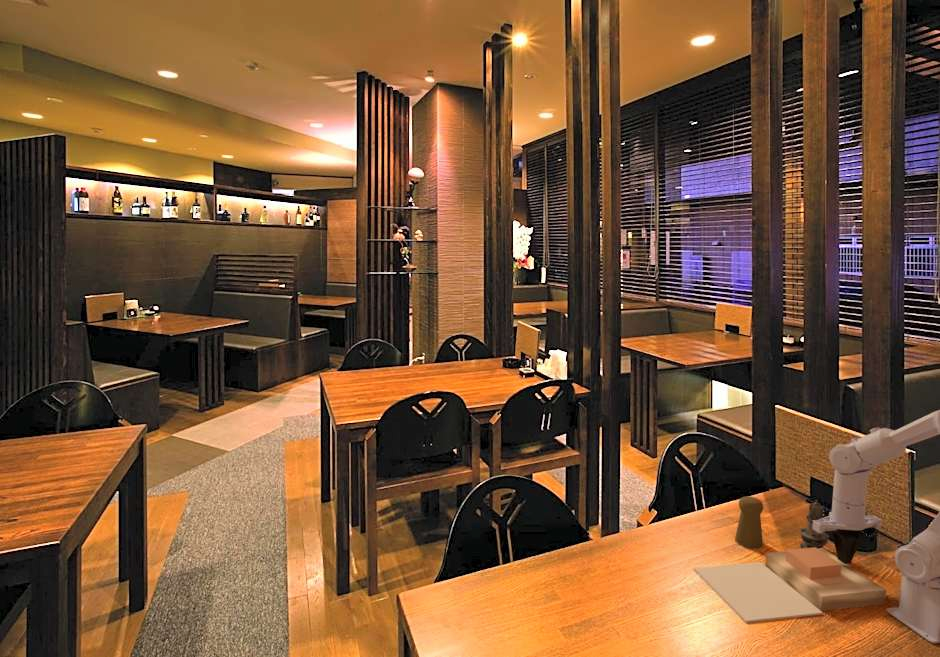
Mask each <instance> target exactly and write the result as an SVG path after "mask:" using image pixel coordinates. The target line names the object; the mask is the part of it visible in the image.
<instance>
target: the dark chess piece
mask: <svg viewBox="0 0 940 657" xmlns="http://www.w3.org/2000/svg"><path fill="white" fill-rule="evenodd" d="M822 518H824V507H823V505H822V504H820V503H819V500H817V499H816V500H815V501H814V502H812V503H809V505H808V515H806V519H807V524H806V527H805V528H801V529H800V530H799V534H800V536H801V539H802V541H803V542H801V543H800V544H799V545H800V546H799V547H800V549H802V548H813V547H816V548H817V549H818V548H824V549H825V550H827V549H826V548H825V547H824V546H826V544H827V542H828V540H829V539H830V536H829V534H827V533H826V532H825V531H824V532H823V533H818V532H816V531H815V530H813V529H812V526H813V520H819V519H822Z"/></svg>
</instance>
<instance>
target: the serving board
mask: <svg viewBox="0 0 940 657" xmlns="http://www.w3.org/2000/svg"><path fill="white" fill-rule="evenodd" d="M824 548H825V547H824ZM824 548H818V549H819V550H820V551H822V552H823V553H825V554H826V555H828V556H829V557H831V558H832V559H834V560H835V561H837V562H838V563H840V564H841V565H842V566H841V576H838V577H828V578H818V579H809V578H807V577H806V576H805V575H804V574H802V573H801V572H800V571H798V570H797V569H796V568H794V567H793V566H792V565H790V564H789V563H788V562H786V550H784V551H778V552H777V551H776V552H767V553H765V564H764V565H765V566H766V567H767V568H768V569H770V570H771V571H772V572H773V573H775V574H776V575H777V576H778V577H779V578H781V579H782V580H783V581H784V582H786V583H787V584H788V585H789V586H791V587H792V588H793V589H794V590H796V591H797V592H798V593H799V594H800V595H802V596H803V597H804V598H805V599H807V600H808V601H809V602H810V603H812V604H813V605H814V606H815V607H817V608H818V609H819V610H820V611H821V612H823V611H833V610H841V609H851V608H859V607H868V606H869V607H870V606H879V605H885V604H886V593H887V589H885V588H884V587H883V586H881V585H879V584H878V583H877V582H875V581H874V580H872V579H870V578H869V577H868V576H866V575H865V574H863V573H862V572H860V571H858V570H857V569H855V568H854V567H853V566H851V565H849V564H844V563H843V562H841V561H840V560H838V558H837V555H834V554H833V553H832V552H830V551H828V550H827V549H826V548H825V549H826V550H825V549H824Z"/></svg>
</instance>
